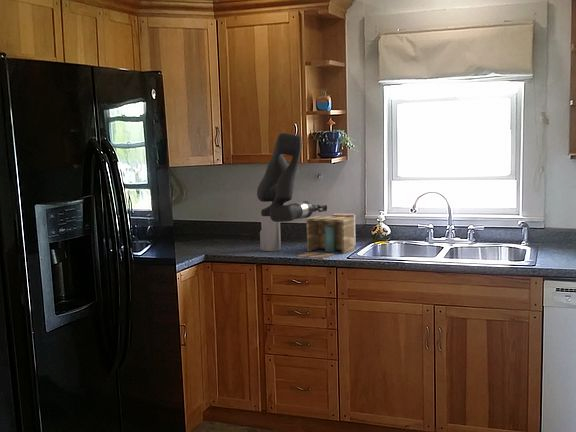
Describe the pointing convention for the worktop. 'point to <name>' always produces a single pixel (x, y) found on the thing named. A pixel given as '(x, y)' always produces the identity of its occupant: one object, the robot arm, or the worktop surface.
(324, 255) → the trivet
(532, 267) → the worktop surface
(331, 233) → the tin
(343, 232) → the cubby
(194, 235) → the worktop surface
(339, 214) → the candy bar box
